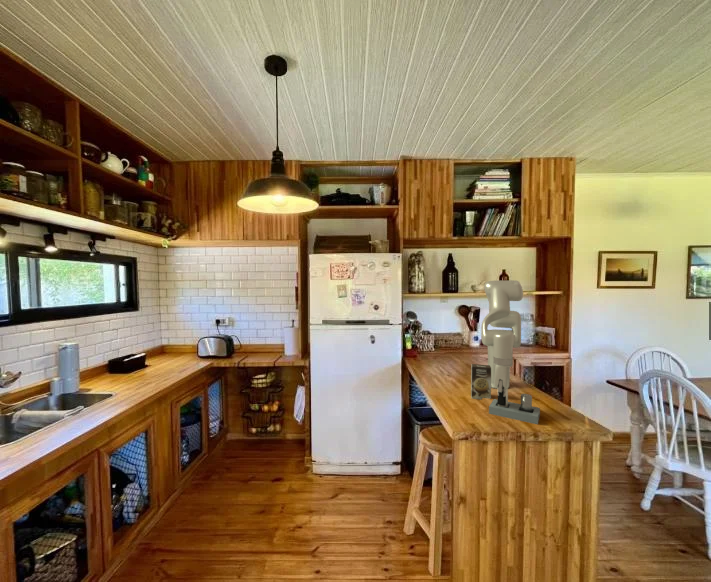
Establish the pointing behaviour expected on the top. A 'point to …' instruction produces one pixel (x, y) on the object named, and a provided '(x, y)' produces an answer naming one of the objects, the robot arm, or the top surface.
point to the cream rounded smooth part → (506, 398)
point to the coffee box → (480, 381)
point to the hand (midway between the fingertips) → (502, 402)
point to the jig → (515, 412)
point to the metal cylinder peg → (526, 403)
